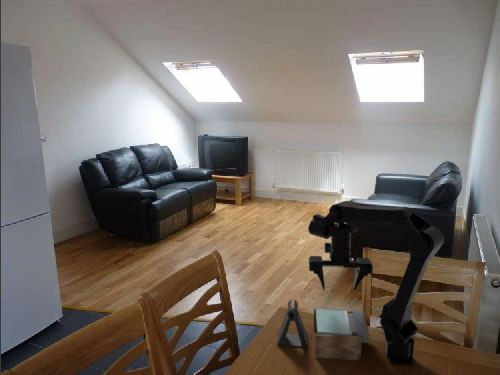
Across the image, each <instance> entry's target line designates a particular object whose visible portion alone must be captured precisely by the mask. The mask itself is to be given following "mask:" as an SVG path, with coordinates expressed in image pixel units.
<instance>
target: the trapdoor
mask: <svg viewBox="0 0 500 375" xmlns="http://www.w3.org/2000/svg"><path fill="white" fill-rule="evenodd" d="M315 309H316V320H317V330H316V334H329V335H346V336H352V334H355V335H356V336H362V344H363V343H366V344H368V343H369V339H370V332H369V328H368V324H367V322H366V318H365V315H364V311H363V310H362V309H351V310H352V313H347V311H339V310H340V309H334V310H324V309H325V308H315Z"/></svg>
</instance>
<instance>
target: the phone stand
mask: <svg viewBox="0 0 500 375" xmlns="http://www.w3.org/2000/svg"><path fill="white" fill-rule="evenodd" d="M293 302H294V303H292V299H290V300H289V301H288V302H287V310H286V313H285V315H284V317H283V320H282V322H281V325H280V327H279V330H278V332H277V342H276V345H277V346H278V347H287V348H288V347H289V348H292V347H293V348H306V349H307V348H309V346H308V345H309V344H308V332H307V330H306V327H305V325H304V322H303V320H302V318H301V314H300V312H299V303H298V301H297V300H296V299H294V301H293ZM292 304H293V305H294V306H293V305H292ZM292 306H293V307H292ZM292 322H294V323H295V327H296V330H297V333H288V331H289V328H290V325H291V323H292Z"/></svg>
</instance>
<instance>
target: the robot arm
mask: <svg viewBox="0 0 500 375" xmlns="http://www.w3.org/2000/svg"><path fill="white" fill-rule="evenodd" d="M357 221H361V222H375V223H388V224H395V225H397V227H398V228H399V230H400V231H401V234H402V235H403V238H404V239H406V240H407V242H409V249H408V252H409V261H408V263H407V266H406V269H405V272H404V274H403V276H402V279H401V282H400V284H399V287H398V290H397V292H396V295H395V298H392V299H390V300H389V301H388V302H386V303H385V304H383V307H382V310H381V314H380V315H379V316H378V317H379V318H380V320H379V322H380V326H381V328H382V330H383V333H384V337H385V348H384V351H385V355H386V357H387V358H388V361H389V363H390V364H394V365H410V366H414V365H415V361H414V351H415V350H414V349H415V340H414V336H416V335H417V334H418V332H419V327H418V326H417V325H416V324H415V322H414V321H413V319H412V314H413V310H412V309H413V308H412V305H413V301H414V300H415V297H416V295H417V292H418V289H419V288H420V287H419V286H420V285H421V282H422V280H423V277H424V275H425V273H426V272H425V271H426V270H427V267H428V265H429V263H430V261H431V260H432V259H433V257H434V256H435V255H436V254H437V253H438V251H439V250H440V248H441V247H442V246H443V244H444V242H445V235H444V234H443V231H441V230H440V229H439V228H437V227H436V226H433V225H432V224H431V223H430V222H429V221H428V220H427V219H426V218H423V217H422V216H420V215H418V214H417V213H416V212H415V211H414V210H412V209H411V207H408V206H402V207H401V206H400V207H398V206H378V205H377V206H376V205H375V206H373V205H363V204H359V203H357V202H355V201H350V200H343V201H341V202H337V203H334V204H332V205H331V206H330V208H329V211H328V213H327V215H326V216H324V215H321V214H319V213H316V214H313V215H312V219H311V221H310V222H309V223H308V224H309V225H308V228H307V229H308V233H309V234H310V235H311V236H315V237H318V238H322V239H324V240H328V239H331V240H330V241H331V242H324V253H326V254H327V253H328V254H329V259H330V260H329V259H328V260H327V259H324V260H323V257H322V256H321V255H320V256H319V255H310V256H309V257H308V270H309V271H310V272H313V274H315V275H317V277H318V279H319V282H320V284H321V287H322V290H323V291H324V290H325V289H326V287H325V286H326V285H325V276H324V269H323V268H324V267H325V268H345V269H346V268H348V269H354V270H355V272H354V278H353V284H352V289H353V292H356V290H357V288H358V286H359V285H360V283H361V281H362V280H363V279H364V278H365V277H368V276H369V274H373V273H374V265H373V262H372V260H371V259H370V258H369V257H357V258H356V261H354V260H353V261H351V245H352V244H351V243H352V241H351V240H352V233H355V232H357V231H359V227H358V226H356V225H355V223H354V222H357Z"/></svg>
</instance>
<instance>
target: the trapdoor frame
mask: <svg viewBox="0 0 500 375" xmlns="http://www.w3.org/2000/svg"><path fill="white" fill-rule="evenodd" d="M316 309H317V308H314V309H313V330H314V331H317V320H316ZM323 309H324V310H335V309H332V308H329V309H328V308H323ZM338 310H339V311H347V313H352V310H353V309H351V310H350V309H348V310H347V309H338ZM314 343H315V348H314V352H315V353H314V357H315V358H318V359H319V358H320V359H333V360H334V359H335V360H346V361H347V360H349V361H361V360H362V345H363V342H362V336H356V335H355V334H352V336H346V335H329V334H317V333H315V342H314Z"/></svg>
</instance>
